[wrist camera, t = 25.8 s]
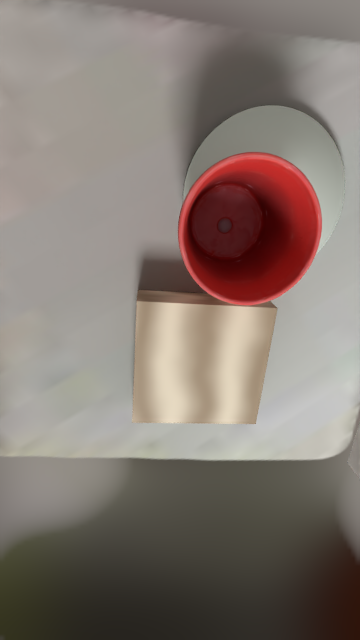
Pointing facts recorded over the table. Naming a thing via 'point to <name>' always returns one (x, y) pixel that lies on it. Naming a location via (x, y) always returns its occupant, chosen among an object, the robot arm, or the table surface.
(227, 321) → the stand
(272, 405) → the table surface
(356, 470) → the robot arm
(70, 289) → the table surface
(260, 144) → the pale grey round plate
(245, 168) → the flower pot
